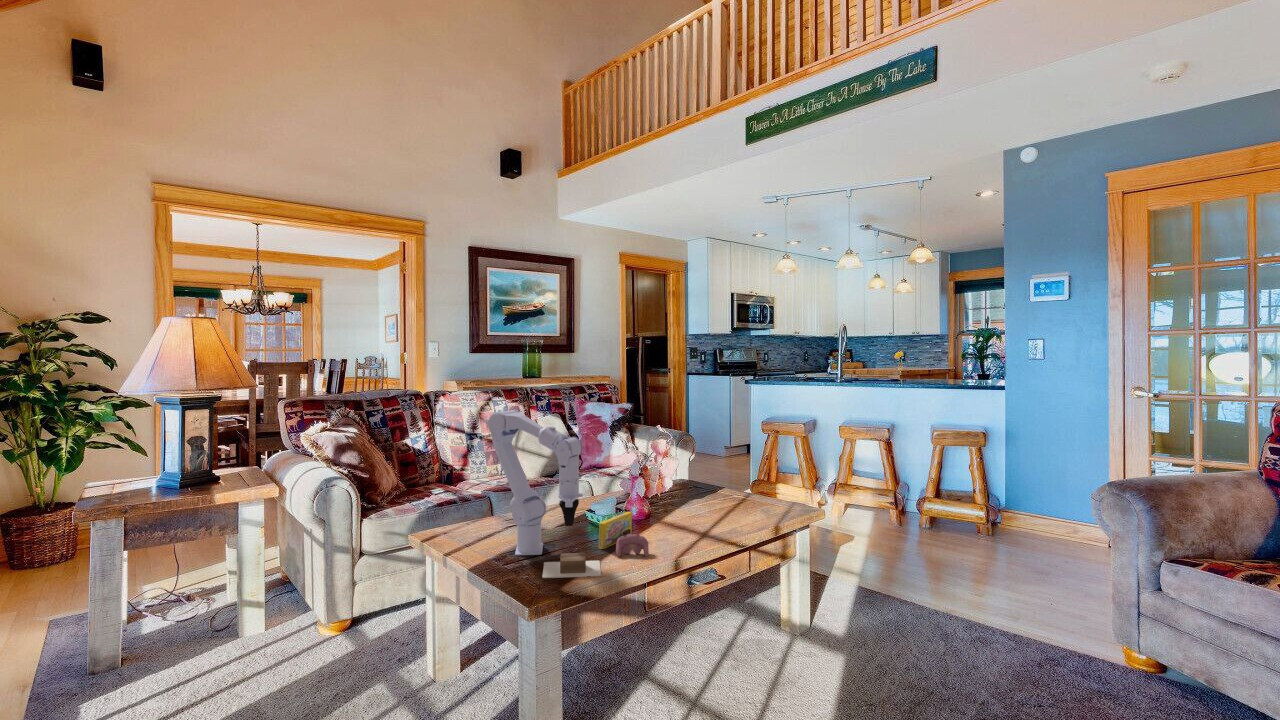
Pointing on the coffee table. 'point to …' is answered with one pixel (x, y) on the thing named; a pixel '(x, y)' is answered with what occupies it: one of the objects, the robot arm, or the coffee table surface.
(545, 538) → the coffee table surface
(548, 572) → the mat
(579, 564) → the brown block
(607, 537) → the candy box
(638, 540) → the video game controller
